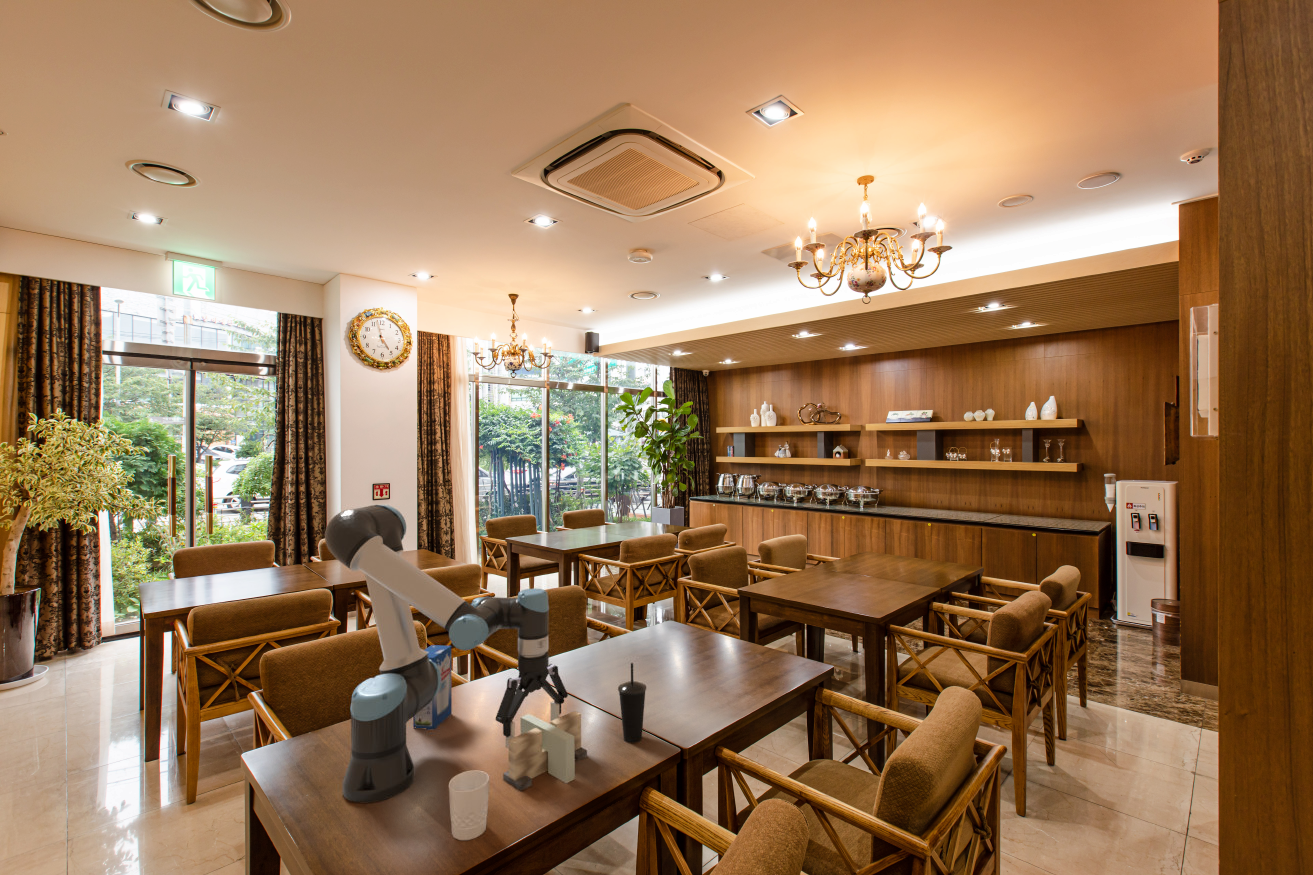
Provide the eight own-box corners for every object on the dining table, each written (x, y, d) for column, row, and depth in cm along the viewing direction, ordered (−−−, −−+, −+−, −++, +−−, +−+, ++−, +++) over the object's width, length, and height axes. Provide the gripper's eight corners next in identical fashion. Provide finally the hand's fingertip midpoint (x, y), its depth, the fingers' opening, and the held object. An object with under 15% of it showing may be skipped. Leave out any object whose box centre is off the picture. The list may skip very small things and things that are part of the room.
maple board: (520, 790, 133) (520, 746, 134) (503, 779, 138) (502, 736, 138) (587, 755, 148) (586, 716, 148) (569, 746, 153) (568, 708, 153)
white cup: (475, 813, 125) (474, 765, 126) (497, 827, 120) (496, 778, 121) (441, 831, 119) (441, 782, 119) (462, 848, 114) (462, 796, 114)
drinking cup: (621, 747, 152) (621, 669, 153) (615, 733, 160) (615, 659, 160) (650, 743, 154) (649, 666, 155) (643, 729, 162) (642, 656, 162)
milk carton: (433, 729, 163) (433, 657, 164) (413, 728, 164) (413, 656, 165) (451, 713, 173) (451, 645, 173) (432, 712, 174) (432, 644, 174)
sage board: (520, 756, 148) (520, 716, 148) (528, 752, 150) (528, 713, 150) (566, 783, 136) (566, 739, 136) (574, 778, 138) (574, 735, 138)
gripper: (498, 670, 135) (498, 763, 135) (581, 643, 154) (581, 724, 153) (480, 662, 140) (480, 751, 140) (562, 637, 159) (562, 716, 158)
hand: (533, 737), depth 147 cm, fingers open, 13 cm apart
